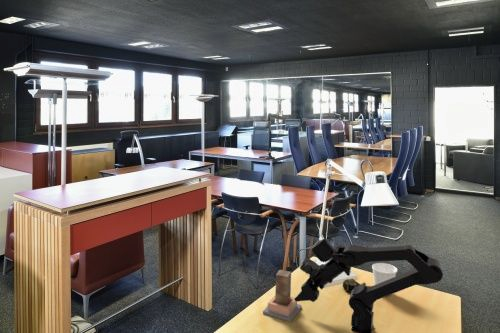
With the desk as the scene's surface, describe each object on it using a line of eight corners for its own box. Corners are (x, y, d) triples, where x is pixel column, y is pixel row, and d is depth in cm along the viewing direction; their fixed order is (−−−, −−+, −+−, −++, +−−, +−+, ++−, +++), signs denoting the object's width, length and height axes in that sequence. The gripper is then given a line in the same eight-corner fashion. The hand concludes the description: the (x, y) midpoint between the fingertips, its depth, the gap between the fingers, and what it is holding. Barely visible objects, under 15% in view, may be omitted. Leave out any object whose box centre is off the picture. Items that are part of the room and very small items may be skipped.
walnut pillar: (290, 306, 142) (291, 271, 140) (286, 312, 138) (287, 276, 136) (278, 303, 144) (279, 269, 142) (275, 309, 140) (275, 274, 138)
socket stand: (301, 307, 144) (301, 297, 143) (290, 321, 134) (290, 311, 133) (275, 300, 149) (275, 290, 148) (262, 313, 139) (263, 303, 138)
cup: (380, 300, 149) (382, 274, 148) (365, 289, 159) (366, 264, 157) (400, 296, 152) (402, 271, 151) (384, 285, 162) (386, 261, 160)
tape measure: (362, 293, 156) (363, 284, 155) (348, 295, 153) (348, 286, 153) (353, 285, 162) (353, 277, 161) (339, 287, 160) (339, 279, 159)
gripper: (319, 244, 142) (291, 267, 148) (308, 263, 125) (276, 288, 131) (340, 267, 140) (310, 289, 146) (331, 289, 123) (297, 313, 129)
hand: (298, 294), depth 138 cm, fingers open, 9 cm apart
